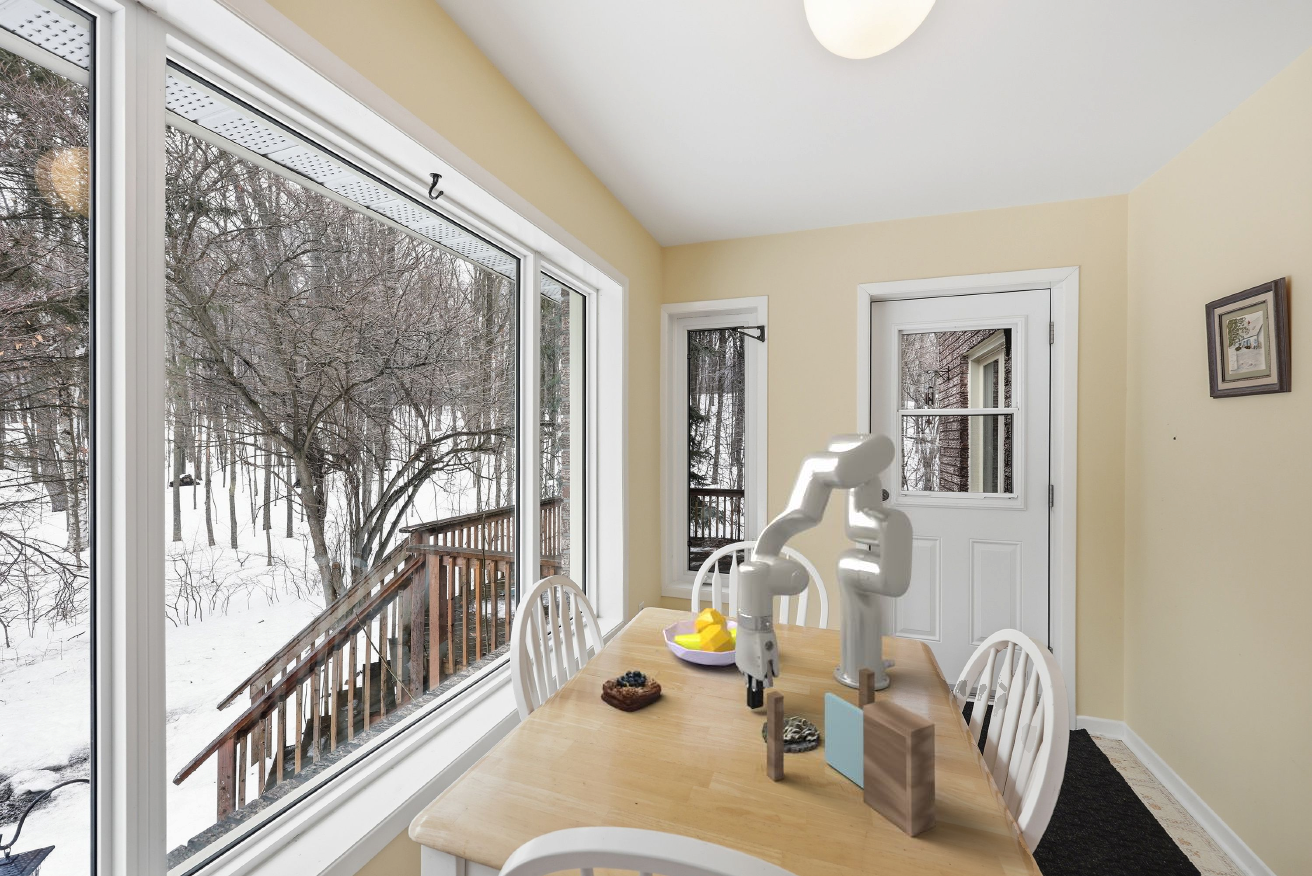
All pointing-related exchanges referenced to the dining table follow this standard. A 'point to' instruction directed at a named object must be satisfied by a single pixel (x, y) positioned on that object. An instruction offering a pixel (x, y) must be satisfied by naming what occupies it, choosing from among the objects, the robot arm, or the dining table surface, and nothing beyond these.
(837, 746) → the door panel
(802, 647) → the dining table surface
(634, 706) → the pastry
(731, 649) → the fruit bowl
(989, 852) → the dining table surface
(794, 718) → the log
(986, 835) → the dining table surface
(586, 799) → the dining table surface
